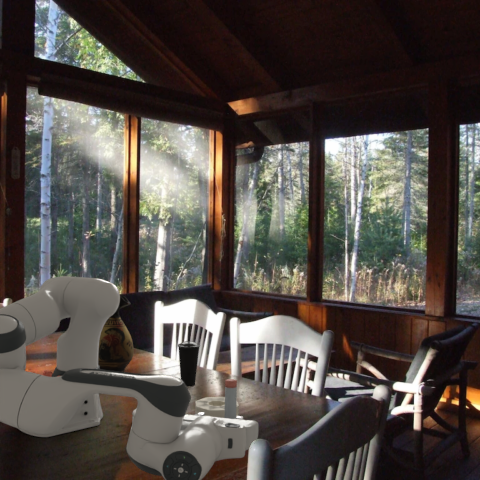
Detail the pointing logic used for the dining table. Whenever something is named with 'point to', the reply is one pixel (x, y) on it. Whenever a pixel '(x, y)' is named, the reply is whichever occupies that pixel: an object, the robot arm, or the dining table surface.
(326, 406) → the dining table surface
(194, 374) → the drinking cup
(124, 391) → the robot arm
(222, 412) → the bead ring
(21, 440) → the dining table surface
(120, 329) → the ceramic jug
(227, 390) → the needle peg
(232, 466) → the dining table surface
